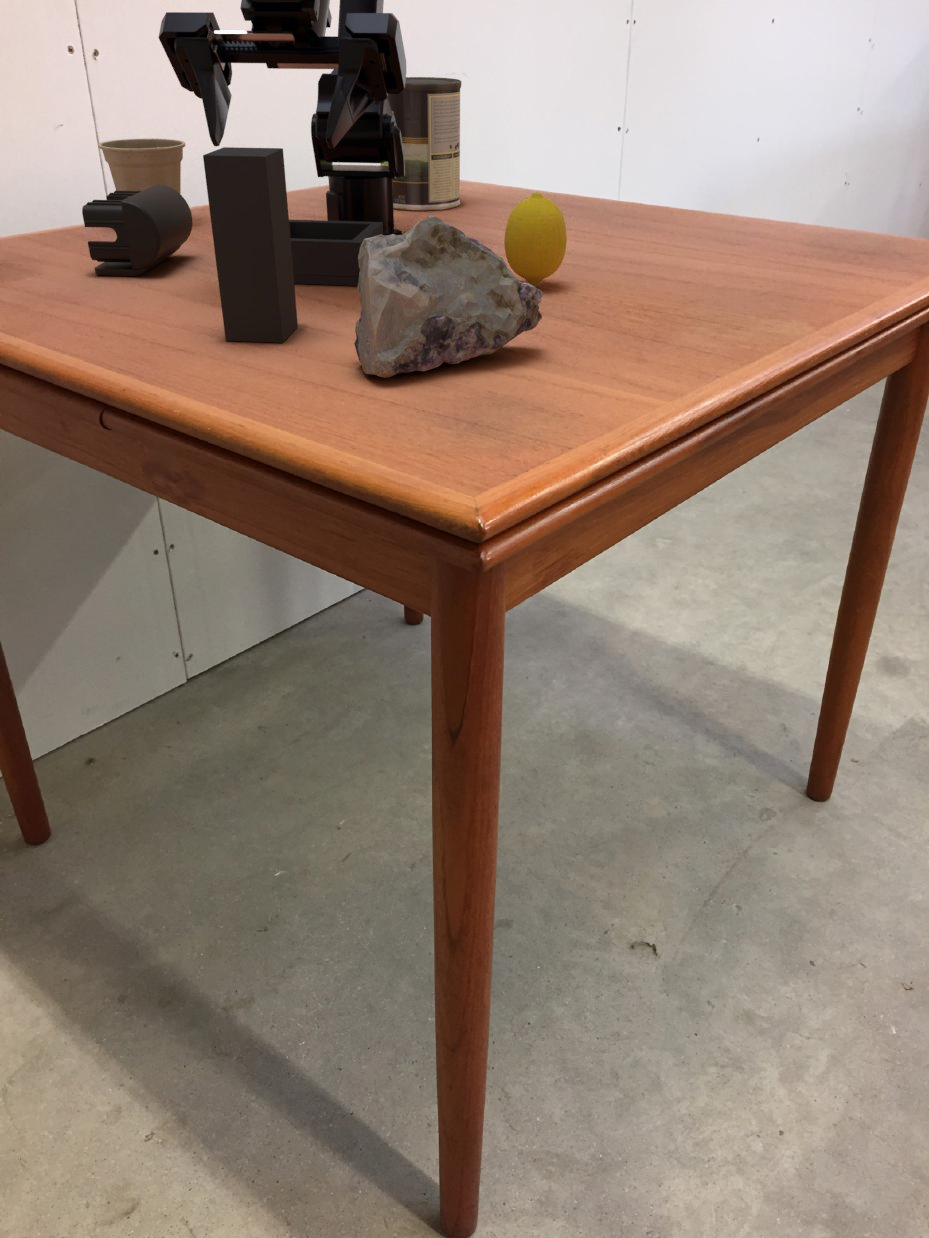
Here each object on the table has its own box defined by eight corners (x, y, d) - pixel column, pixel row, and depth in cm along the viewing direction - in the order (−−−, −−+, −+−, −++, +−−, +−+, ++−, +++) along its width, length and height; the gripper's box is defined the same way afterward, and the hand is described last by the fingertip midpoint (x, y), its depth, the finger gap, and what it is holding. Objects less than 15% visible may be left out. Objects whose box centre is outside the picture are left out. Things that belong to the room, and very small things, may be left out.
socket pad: (287, 259, 101) (283, 219, 99) (384, 262, 100) (382, 222, 98) (256, 282, 93) (251, 239, 91) (362, 286, 92) (360, 242, 90)
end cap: (165, 278, 94) (154, 201, 90) (91, 277, 94) (77, 200, 91) (198, 255, 102) (188, 184, 99) (130, 254, 103) (118, 183, 99)
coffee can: (388, 212, 124) (384, 83, 116) (375, 199, 132) (369, 77, 125) (470, 209, 126) (470, 82, 118) (451, 196, 134) (450, 76, 127)
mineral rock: (542, 346, 76) (548, 204, 71) (535, 392, 67) (541, 233, 61) (373, 340, 77) (367, 200, 72) (344, 385, 68) (334, 228, 63)
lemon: (570, 282, 93) (575, 189, 89) (555, 296, 89) (560, 199, 84) (513, 277, 95) (515, 186, 90) (495, 291, 90) (497, 195, 86)
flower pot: (212, 222, 118) (203, 141, 113) (151, 236, 111) (138, 150, 107) (156, 214, 122) (144, 136, 118) (94, 227, 115) (79, 144, 111)
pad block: (243, 325, 81) (223, 147, 74) (298, 327, 80) (283, 148, 73) (225, 341, 77) (202, 155, 70) (282, 343, 76) (265, 156, 69)
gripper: (147, -115, 75) (112, 62, 71) (395, -117, 73) (372, 64, 69) (198, 9, 85) (170, 168, 82) (415, 10, 83) (396, 172, 80)
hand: (271, 143), depth 78 cm, fingers open, 9 cm apart
